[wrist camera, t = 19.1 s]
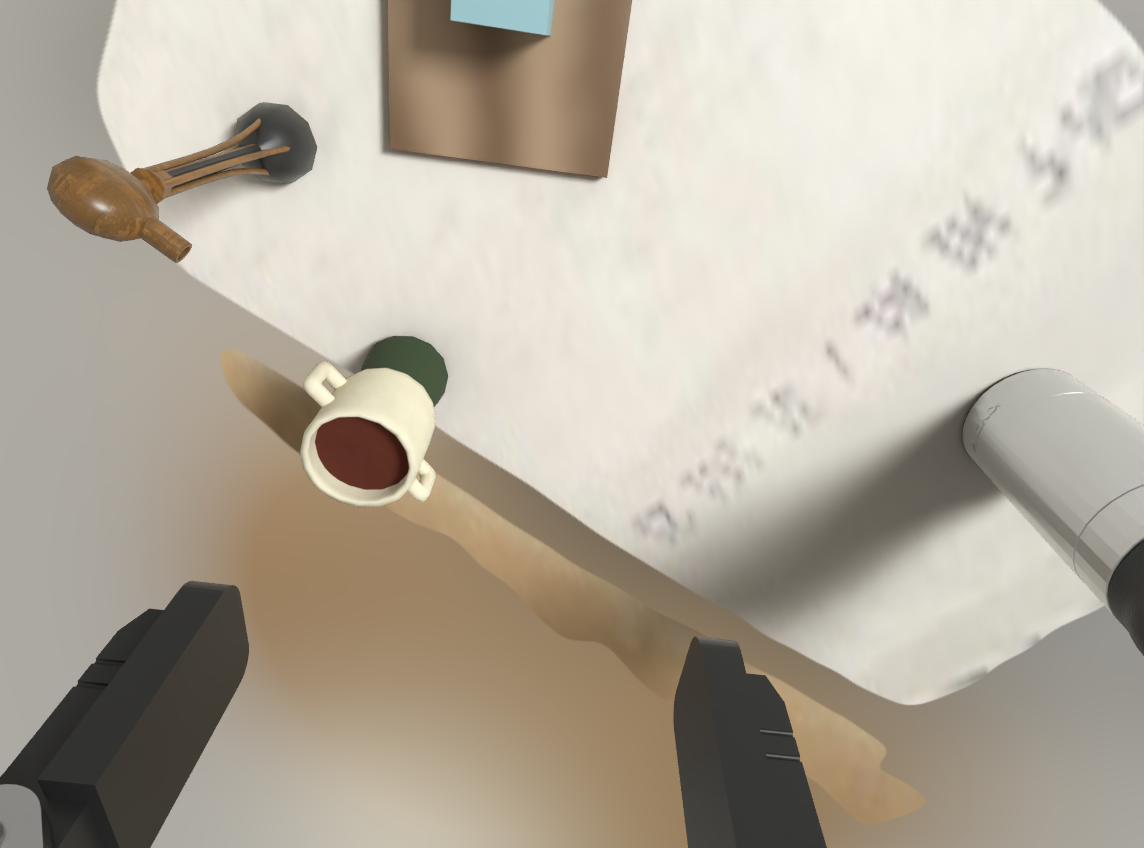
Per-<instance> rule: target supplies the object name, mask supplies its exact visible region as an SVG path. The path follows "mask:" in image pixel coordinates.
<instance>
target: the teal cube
mask: <svg viewBox="0 0 1144 848" xmlns="http://www.w3.org/2000/svg"><path fill="white" fill-rule="evenodd" d="M554 2H555V0H451V20H453V21H459V22H465V23H472V24H478V25H484V26H491V27H497V28H503V29H510V30H516V31H523V32H529V33H535V34H542V35H549V36H551V31H552V21H553V12H554Z"/></svg>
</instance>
